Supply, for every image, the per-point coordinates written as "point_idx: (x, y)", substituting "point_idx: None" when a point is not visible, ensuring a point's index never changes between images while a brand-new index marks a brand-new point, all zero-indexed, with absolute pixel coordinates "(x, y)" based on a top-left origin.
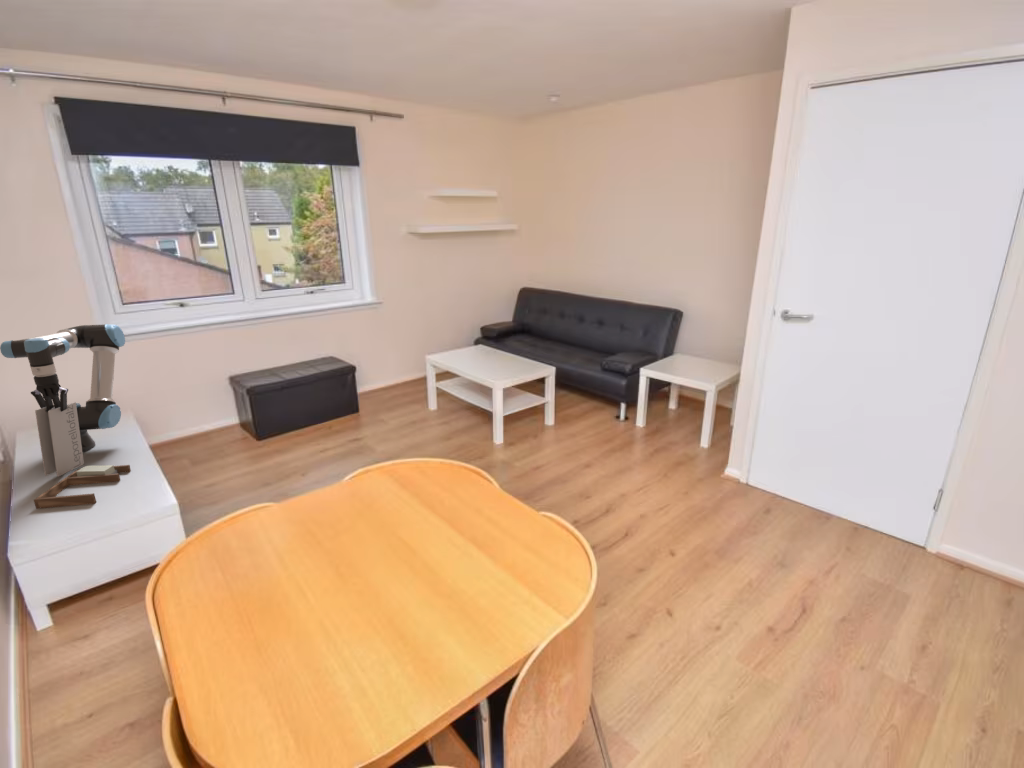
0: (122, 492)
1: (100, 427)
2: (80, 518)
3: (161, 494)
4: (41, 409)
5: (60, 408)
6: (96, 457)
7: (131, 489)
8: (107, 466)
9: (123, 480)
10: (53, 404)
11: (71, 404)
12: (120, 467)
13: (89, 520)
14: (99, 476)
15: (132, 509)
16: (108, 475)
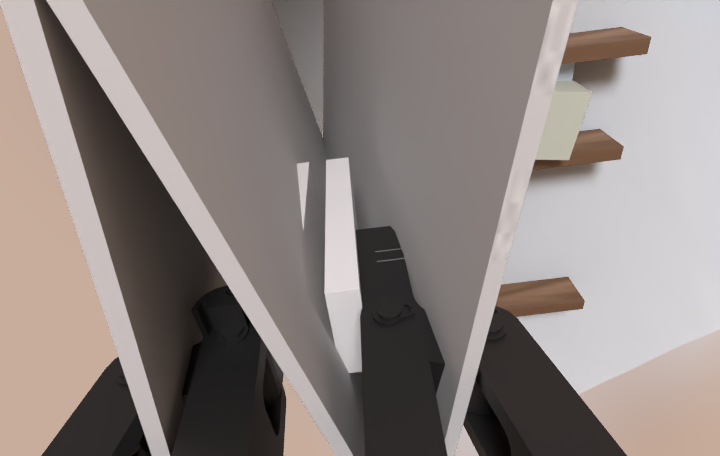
0: (634, 220)
1: None
2: (561, 348)
3: None
4: None
5: (470, 433)
6: None
7: (662, 200)
8: (563, 106)
9: (607, 117)
10: (114, 334)
11: (521, 130)
12: (602, 58)
13: (590, 355)
14: (539, 167)
15: (693, 315)
16: (580, 163)
